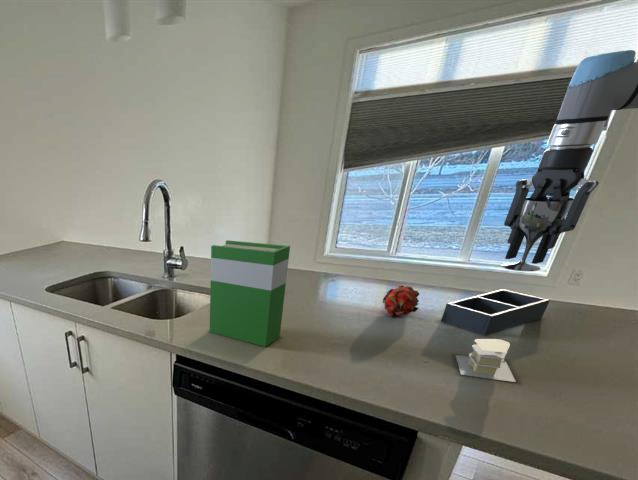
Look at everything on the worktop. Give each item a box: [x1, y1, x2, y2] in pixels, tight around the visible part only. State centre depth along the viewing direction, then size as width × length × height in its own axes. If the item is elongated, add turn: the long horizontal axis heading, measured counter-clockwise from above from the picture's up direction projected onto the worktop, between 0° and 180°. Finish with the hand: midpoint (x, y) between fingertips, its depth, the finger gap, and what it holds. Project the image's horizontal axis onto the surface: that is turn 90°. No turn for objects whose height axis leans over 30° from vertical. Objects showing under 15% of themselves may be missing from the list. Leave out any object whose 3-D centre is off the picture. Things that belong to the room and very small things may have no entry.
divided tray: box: [440, 288, 551, 336], centre depth 106 cm, size 11×21×5 cm, turn 110°
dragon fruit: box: [382, 285, 420, 317], centre depth 115 cm, size 8×8×12 cm
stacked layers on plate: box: [455, 338, 516, 383], centre depth 86 cm, size 10×9×6 cm
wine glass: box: [500, 196, 574, 272], centre depth 93 cm, size 8×8×15 cm
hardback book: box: [209, 239, 291, 348], centre depth 107 cm, size 18×7×24 cm, turn 44°
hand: (523, 260), depth 96 cm, fingers closed on wine glass, 5 cm apart
